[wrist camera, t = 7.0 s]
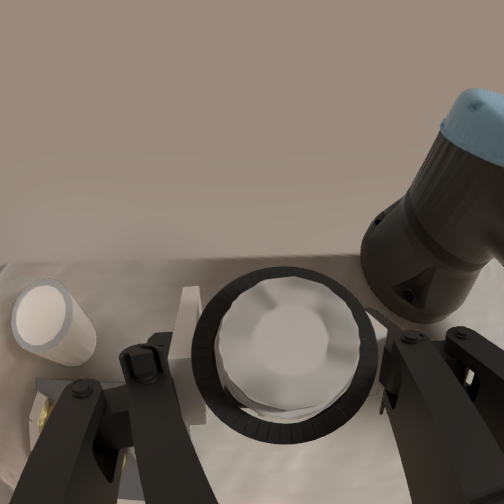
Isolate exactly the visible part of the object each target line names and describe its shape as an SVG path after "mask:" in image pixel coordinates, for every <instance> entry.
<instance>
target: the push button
mask: <svg viewBox="0 0 504 504" xmlns="http://www.w3.org/2000/svg"><path fill="white" fill-rule="evenodd" d="M191 363H192V371H193V375H194V379H195V382H196V385H197V388H198V390H199V392H200V394H201V396H202V398H203V399H204V401H205V402H206V404H207V406H208V407H209V408H210V409H211V411H212V412H213V413H214V414H215V415H216V416H217V417H218V418H219V419H220V420H221V421H222V422H223V423H225V424H226V425H227V426H229V427H230V428H231V429H233V430H235V431H236V432H238V433H240V434H242V435H244V436H246V437H249V438H251V439H254V440H258V441H261V442H266V443H271V444H298V443H305V442H308V441H312V440H316V439H318V438H321V437H324V436H326V435H328V434H330V433H332V432H333V431H335V430H337V429H338V428H340V427H341V426H343V425H344V424H345V423H346V422H347V421H349V420H350V419H351V418H352V417H353V416H354V415H355V414H356V413H357V411H358V410H359V409H360V408H361V406H362V405H363V404H364V402H365V400H366V399H367V397H368V395H369V393H370V391H371V389H372V386H373V383H374V380H375V377H376V372H377V367H378V345H377V339H376V335H375V331H374V328H373V325H372V323H371V320H370V318H369V316H368V314H367V313H366V311H365V309H364V308H363V306H362V305H361V304H360V302H359V301H358V300H357V299H356V298H355V297H354V296H353V295H352V294H351V293H350V292H349V291H348V290H347V289H346V288H345V287H343V286H342V285H341V284H339V283H338V282H336V281H334V280H333V279H331V278H329V277H327V276H325V275H323V274H320V273H318V272H315V271H312V270H308V269H304V268H297V267H271V268H265V269H261V270H257V271H254V272H251V273H248V274H246V275H243V276H241V277H239V278H237V279H236V280H234V281H232V282H231V283H229V284H228V285H226V286H225V287H224V288H223V289H222V290H220V291H219V292H218V293H217V294H216V295H215V296H214V297H213V298H212V300H211V301H210V302H209V303H208V305H207V306H206V308H205V309H204V311H203V312H202V314H201V316H200V318H199V320H198V322H197V325H196V328H195V331H194V335H193V339H192V346H191ZM240 408H250V409H252V410H253V411H255V412H257V413H259V414H258V416H265V417H275V418H285V419H299V418H302V417H305V416H308V415H311V414H314V413H317V412H320V411H322V410H323V411H322V412H320V413H319V414H317V415H316V416H314V417H312V418H310V419H308V420H305V421H302V422H299V423H290V424H282V423H273V422H268V421H264V420H261V419H258V418H256V417H254V416H251V415H250V414H248V413H246V412H245V411H243V410H241V409H240Z"/></svg>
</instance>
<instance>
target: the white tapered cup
mask: <svg viewBox="0 0 504 504" xmlns="http://www.w3.org/2000/svg"><path fill="white" fill-rule="evenodd" d="M11 327H12V331H13V336H14V338H15V340H16V341H17V342H18V344H19V345H20V347H21V348H23V349H25V350H27V351H29V352H31V353H33V354H36V355H38V356H41V357H43V358H46V359H49V360H51V361H54V362H57V363H60V364H62V365H65V366H68V367H74V366H80V365H82V364H83V363H85V362H87V361H88V359H89V358H90V357H91V356H92V355H93V353H94V350H95V347H96V344H97V343H96V332H95V329H94V327H93V324H92V323H91V322H90V320H89V319H88V318H87V316H86V315H85V314H84V312H83V311H82V309H81V308H80V307H79V305H78V304H77V302H76V301H75V299H74V298H73V297H72V295H71V294H70V292H69V291H68V290H67V289H66V288H65V287H64V286H63V284H62V283H61V282H58V281H55V280H52V279H43V280H37V281H36V282H34V283H32V284H31V285H29V286H27V287H26V288H25V289H24V291H23V292H22V293H21V294H20V295H19V297H18V298H17V300H16V303H15V305H14V307H13V310H12V318H11Z"/></svg>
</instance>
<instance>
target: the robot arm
mask: <svg viewBox="0 0 504 504" xmlns="http://www.w3.org/2000/svg"><path fill="white" fill-rule="evenodd" d="M493 258H496V259H497V260H498V261H499V263H501V264H502V265H503V267H504V96H502V95H500V94H498V93H495V92H492V91H489V90H486V89H481V88H471V89H467V90H465V91H463V92H462V93H461V94H460V95H459V96H458V97H457V99H456V101H455V103H454V105H453V107H452V108H451V110H450V112H449V114H448V115H447V117H446V118H445V119H444V120H443V121H442V122H441V125H440V131H439V134H438V136H437V138H436V139H435V142H434V143H433V146H432V148H431V150H430V151H429V153H428V155H427V157H426V159H425V161H424V163H423V165H422V166H421V168H420V170H419V172H418V173H417V175H416V177H415V179H414V180H413V182H412V184H411V186H410V188H409V189H408V191H407V193H406V194H405V195H404V196H403V197H402V198H400V199H399V200H398V201H396V202H395V203H394V204H392V205H391V206H390V207H388V208H387V209H385V210H384V211H383V212H381V213H380V214H379V215H378V216H377V217H376V218H375V219H374V220H373V221H372V223H371V225H370V226H369V228H368V230H367V232H366V233H365V235H364V238H363V240H362V244H361V263H362V268H363V271H364V274H365V277H366V279H367V281H368V283H369V285H370V286H371V288H372V290H373V291H374V293H375V294H376V295H377V297H378V298H379V299H380V300H381V301H382V302H383V303H384V304H385V305H386V306H387V307H388V308H389V309H391V310H392V311H393V312H395V313H396V314H398V315H399V316H401V317H403V318H405V319H408V320H410V321H414V322H418V323H434V322H438V321H441V320H443V319H445V318H446V317H448V316H449V315H450V314H452V313H453V312H454V311H456V310H457V309H458V308H459V307H460V306H461V305H462V304H463V302H464V301H465V299H466V297H467V296H468V294H469V292H470V290H471V288H472V286H473V284H474V283H475V281H476V279H477V277H478V275H479V273H480V271H481V269H482V268H483V267H484V266H485V265H486V264H487V263H488V262H489V261H490V260H491V259H493ZM364 309H365V311H366V313H367V314H368V316H369V318H370V320H371V323H372V325H373V328H374V331H375V335H376V339H377V345H378V367H377V372H376V377H375V380H374V383H373V386H372V389H371V391H370V393H369V395H368V397H369V396H373V395H376V394H377V391H378V386H379V381H380V383H381V384H382V385H383V386H384V387H385V388H384V393H383V398H382V402H381V407H380V414H383V410H384V408H385V407H386V410H387V414H388V416H389V420H390V423H391V426H392V429H393V433H394V436H395V440H396V443H397V447H398V450H399V454H400V457H401V461H402V465H403V468H404V472H405V476H406V480H407V484H408V488H409V492H410V496H411V500H412V504H504V350H502V349H501V348H499V347H498V346H496V345H495V344H493V343H492V342H490V341H489V340H487V339H486V338H484V337H483V336H481V335H480V334H478V333H477V332H475V331H474V330H472V329H470V328H466V327H464V326H457V327H452V328H450V329H448V331H447V332H446V337H445V340H442V341H430V339H429V338H428V337H427V336H426V335H425V334H423V333H421V332H418V331H413V330H405V331H402V330H401V329H400V328H398V327H397V326H396V325H395V324H393V323H392V322H391V321H389V320H388V319H387V318H386V317H384V316H383V315H382V314H381V313H380V312H378V311H376V310H373V309H371V308H364ZM201 314H202V307H201V299H200V290H199V286H189V287H183V291H182V295H181V299H180V304H179V308H178V313H177V317H176V322H175V326H174V331H173V332H162V333H155V334H153V335H152V336H151V337H150V338H149V339H148V341H147V343H145V344H137V345H133V346H130V347H128V348H126V349H124V350H123V351H122V352H121V353H120V356H119V360H120V364H121V367H122V371H123V374H124V377H125V381H126V384H124V385H122V386H118V387H115V388H109V389H104V390H103V389H102V386H101V384H100V383H99V382H98V381H96V380H94V379H88V378H87V379H78V380H75V381H73V382H72V383H70V384H68V385H67V386H66V387H65V388H64V390H63V391H62V393H61V395H60V397H59V399H58V401H57V402H56V404H55V406H54V408H53V410H52V412H51V414H50V416H49V418H48V420H47V422H46V423H45V425H44V427H43V429H42V431H41V433H40V435H39V438H38V440H37V442H36V444H35V446H34V448H33V450H32V452H31V454H30V456H29V459H28V461H27V463H26V465H25V467H24V470H23V472H22V474H21V477H20V479H19V481H18V484H17V486H16V488H15V491H14V493H13V496H12V498H11V501H10V503H9V504H117V498H118V492H119V486H120V480H121V474H122V468H123V463H124V457H125V452H126V448H128V447H133V446H134V449H135V455H136V461H137V466H138V471H139V476H140V481H141V486H142V490H143V495H144V499H145V503H146V504H218V502H217V500H216V497H215V495H214V493H213V491H212V489H211V487H210V484H209V482H208V480H207V478H206V475H205V473H204V471H203V468H202V466H201V464H200V461H199V459H198V456H197V454H196V452H195V449H194V447H193V444H192V441H191V439H190V436H189V434H188V431H187V428H186V426H185V425H200V424H206V402H205V401H204V399H203V398H202V396H201V394H200V392H199V390H198V388H197V385H196V382H195V379H194V375H193V371H192V363H191V346H192V339H193V335H194V331H195V328H196V325H197V322H198V320H199V318H200V316H201ZM469 369H470V370H471V371H473V372H474V373H475V374H474V377H473V380H472V383H471V385H469V384H468V383H467V382H466V379H467V376H468V373H469Z"/></svg>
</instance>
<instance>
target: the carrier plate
mask: <svg viewBox="0 0 504 504" xmlns="http://www.w3.org/2000/svg"><path fill="white" fill-rule="evenodd" d="M72 382H73V381H65V380H52V379H41V378H37V381H36V398H35V400H34V403H33V407H32V410H31V413H30V416H29V419H30V420H32V421H29V435H30V450H31V451H32V450H33V448H34V446H35V444H36V442H37V440H38V438H39V435H40V433H41V431H42V429H43V427H44V425H45V423H46V422H47V420H48V418H49V416H50V414H51V412H52V410H53V408H54V406H55V404H56V402H57V401H58V399H59V397H60V395H61V393H62V391H63V390H64V388H65V387H66V386H67V385H68V384H70V383H72ZM99 383H100V384H101V386H102V389H103V390H104V389H109V388H115V387H118V386H122V385H124V384H126V383H117V382H99ZM185 426H186V428H187V431H188V434H189V436H190V430H189V425H185ZM190 439H191V438H190ZM118 499H128V500H140V501H145V499H144V495H143V490H142V486H141V481H140V476H139V471H138V466H137V461H136V455H135V449H134V446H133V447H128V448H126V452H125V457H124V463H123V468H122V474H121V480H120V486H119V492H118Z"/></svg>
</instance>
